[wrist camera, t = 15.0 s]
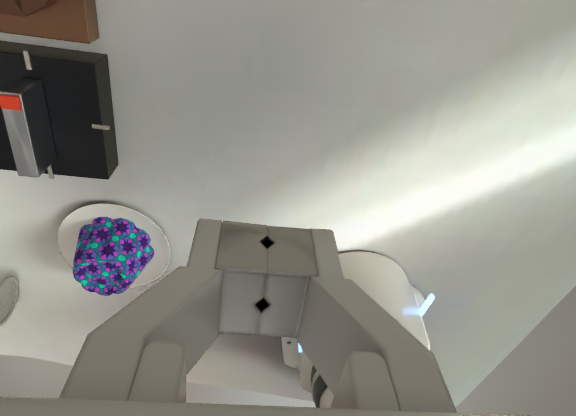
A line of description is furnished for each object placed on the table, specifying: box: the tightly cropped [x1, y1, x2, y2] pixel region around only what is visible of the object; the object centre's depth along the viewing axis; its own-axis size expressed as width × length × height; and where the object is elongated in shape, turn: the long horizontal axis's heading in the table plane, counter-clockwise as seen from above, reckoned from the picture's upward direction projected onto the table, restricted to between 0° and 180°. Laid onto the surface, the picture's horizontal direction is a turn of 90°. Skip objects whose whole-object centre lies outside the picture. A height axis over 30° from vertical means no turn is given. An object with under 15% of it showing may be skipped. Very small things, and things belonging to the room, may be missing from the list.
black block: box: [0, 41, 118, 179], centre depth 35 cm, size 11×11×3 cm
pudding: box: [57, 204, 171, 296], centre depth 43 cm, size 12×12×5 cm
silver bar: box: [0, 78, 57, 177], centre depth 33 cm, size 7×2×4 cm, turn 172°
